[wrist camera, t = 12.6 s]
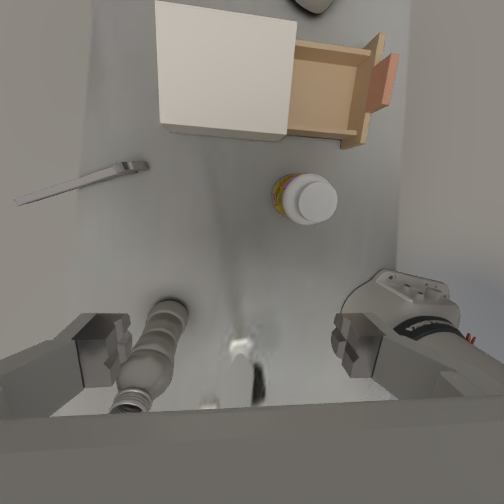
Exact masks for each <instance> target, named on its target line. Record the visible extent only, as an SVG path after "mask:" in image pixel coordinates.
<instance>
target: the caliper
mask: <svg viewBox="0 0 504 504" xmlns="http://www.w3.org/2000/svg"><path fill="white" fill-rule="evenodd" d="M120 163H121V164H116V165H112V166H113V167H110V168H107V169H104V170H101V171H98V172H94V173H91V174H88V175H86V176H84V177H81V178H78V179H75V180H71V181H68V182H66V183H62V184H59V185H56V186H53V187H49V188H46V189H43V190H40V191H37V192H34V193H31V194H27V195H24V196H21V197H18V198H17V199H14V200H15V202H16V204H17V205H18V206H20V205H24V204H28V203H32V202H35V201H38V200H42V199H45V198H48V197H51V196H54V195H58V194H61V193H64V192H67V191H70V190H74V189H77V188H80V187H83V186H87V185H90V184H93V183H96V182H101V181H105V180H108V179H112V178H115V177H117V176H120V175H127V174H135V173H138V171H140V170H148V166H147V164H146V163H145V162H141V161H129V162H120Z"/></svg>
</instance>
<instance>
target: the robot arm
mask: <svg viewBox="0 0 504 504" xmlns="http://www.w3.org/2000/svg"><path fill="white" fill-rule="evenodd" d="M390 276H391V277H390ZM389 277H390V278H389ZM459 322H460V311H459V308H458V306H457V305H456V304H455V303H453V302H452V301H450V300H449V290H448V287H447V285H446V284H444V283H442V282H439V281H435V280H430V279H426V278H422V277H417V276H413V275H409V274H404V273H401V272H396V271H392V270H388V269H382V270H380V271H379V272H378V273H377V274H376V275H375V276H374V277H373V278H372V280H370V281H369V282H367V283H366V284H364V285H362V286H361V287H359V288H358V289H356V290H355V291H354V292H353V293H352V294H351V295H350V296H349V297H348V299H347V300H346V302H345V304H344V306H343V309H342V312H341V313H340V314H336V316H335V319H334V324H335V326H336V328H335V329H334V330H333V331H332V336H331V344H332V348H333V351H334V353H335V354H336V356H337V357H339V358H341V359H342V366H343V367H344V369H345V370H346V372H347V373H348V375H349V376H350V378H372V379H373V380H374V381H376V382H377V383H378V384H380V385H381V386H382V387H383V388H385V389H386V390H387V391H389V392H390V393H391V394H393V395H394V396H395V397H397V398H398V399H399V400H385V401H365V402H344V403H324V404H303V405H283V406H264V407H244V408H224V409H202V410H182V411H161V412H141V413H120V414H100V415H79V416H59V417H49V416H51V415H52V414H53V413H54V412H56V411H57V410H58V409H60V408H61V407H62V406H63V405H65V404H66V403H67V402H69V401H70V400H71V399H72V398H74V397H75V396H76V395H77V394H79V393H80V392H81V391H83V390H84V388H95V387H111V386H112V385H113V384H114V382H115V380H116V378H117V377H118V375H119V373H120V371H121V367H120V365H121V364H122V363H124V362H125V361H127V359H128V357H129V355H130V351H131V348H132V334H131V333H130V332H129V331H128V330H127V329H128V327H129V326H130V324H131V322H130V316H129V315H128V314H127V313H83V314H81V315H79V316H78V317H77V318H76V319H75V320H74V321H73V322H72V323H71V324H69V325H68V326H67V327H66V328H65V329H64V330H63V331H62V332H61V333H59V334H58V335H57V336H56V337H55V338H54V339H53V340H49V341H44V342H42V343H39V344H37V345H35V346H33V347H30V348H28V349H25V350H23V351H21V352H18V353H16V354H14V355H11V356H9V357H6V358H4V359H2V360H0V504H504V364H503V363H501V362H500V361H498V360H496V359H495V358H493V357H491V356H490V355H488V354H486V353H485V352H483V351H482V350H480V349H479V348H477V347H476V346H474V345H473V344H474V341H475V338H476V337H473V339H472V341H471V342H470V333H468V334H467V336H466V339H465V337H464V336H463V335H462V334H461V332H460V331H459V330H458V326H459Z"/></svg>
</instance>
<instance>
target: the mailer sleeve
mask: <svg viewBox="0 0 504 504" xmlns="http://www.w3.org/2000/svg"><path fill="white" fill-rule="evenodd" d="M155 15H156V38H157V61H158V84H159V108H160V123H161V124H162V125H163V126H164V127H165V128H166V129H168V130H169V131H170V132H171V133H181V134H192V135H204V136H215V137H226V138H238V139H249V140H260V141H272V142H278V141H279V140H280V139H282V138H283V137H284V136H285V135H287V124H288V114H289V103H290V93H291V83H292V72H293V62H294V51H295V41H296V30H297V22H296V21H289V20H282V19H276V18H269V17H262V16H256V15H249V14H243V13H236V12H229V11H223V10H216V9H210V8H203V7H196V6H190V5H183V4H176V3H170V2H163V1H157V0H155Z"/></svg>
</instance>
